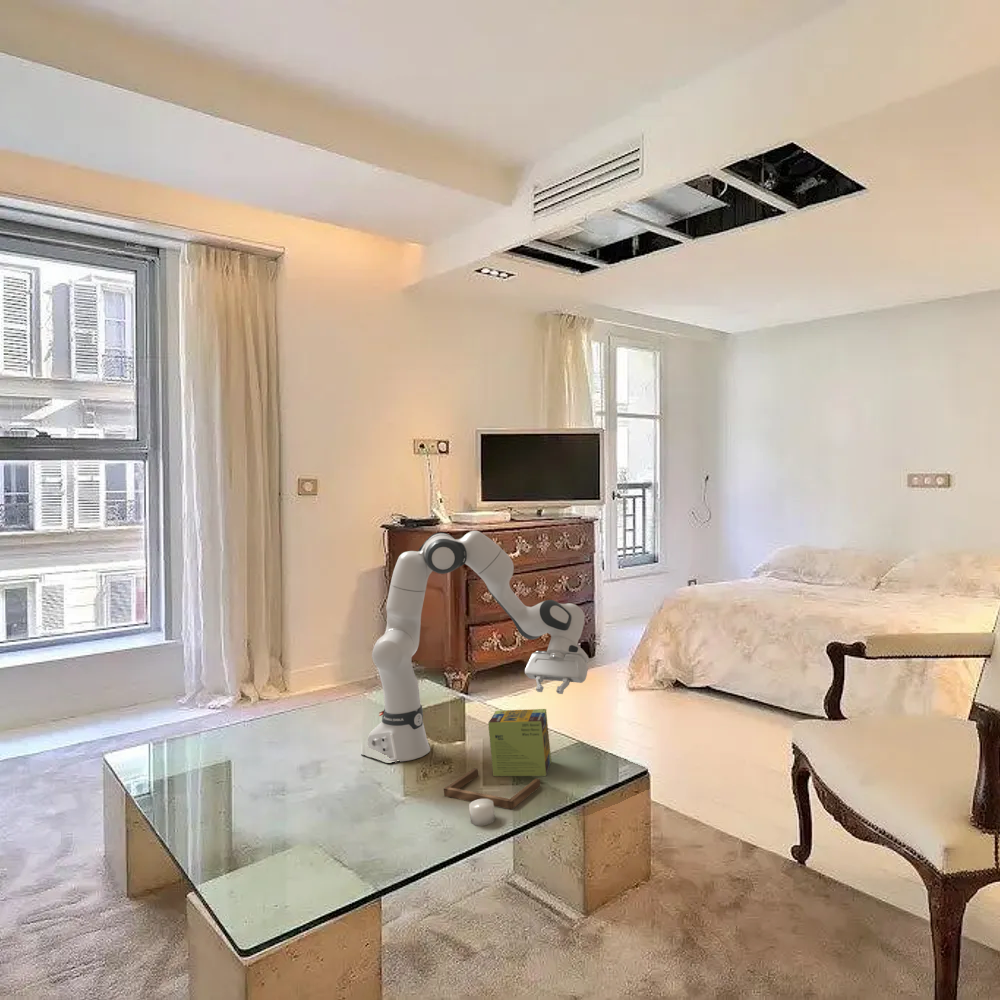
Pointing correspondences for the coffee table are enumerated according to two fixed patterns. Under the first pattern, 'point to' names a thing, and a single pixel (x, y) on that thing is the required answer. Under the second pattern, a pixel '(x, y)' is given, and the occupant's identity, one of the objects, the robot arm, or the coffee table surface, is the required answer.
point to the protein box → (519, 743)
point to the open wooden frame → (456, 792)
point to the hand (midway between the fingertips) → (549, 692)
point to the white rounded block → (482, 812)
